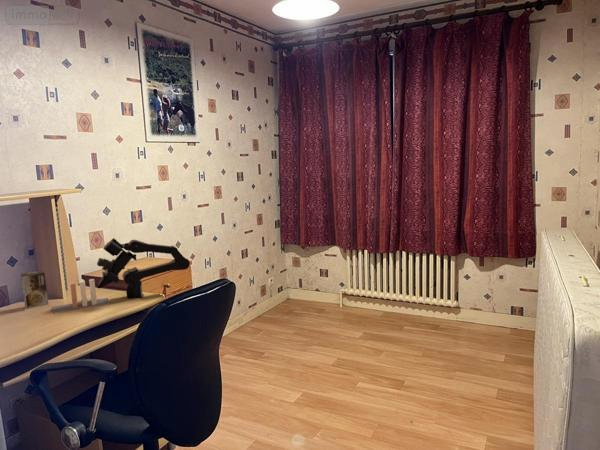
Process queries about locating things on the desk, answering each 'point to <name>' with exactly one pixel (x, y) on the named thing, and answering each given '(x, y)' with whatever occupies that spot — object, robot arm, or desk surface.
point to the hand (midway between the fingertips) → (97, 287)
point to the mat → (79, 305)
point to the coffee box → (34, 289)
